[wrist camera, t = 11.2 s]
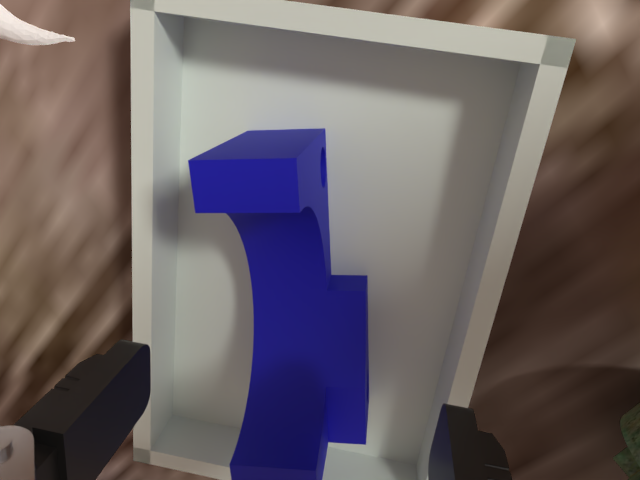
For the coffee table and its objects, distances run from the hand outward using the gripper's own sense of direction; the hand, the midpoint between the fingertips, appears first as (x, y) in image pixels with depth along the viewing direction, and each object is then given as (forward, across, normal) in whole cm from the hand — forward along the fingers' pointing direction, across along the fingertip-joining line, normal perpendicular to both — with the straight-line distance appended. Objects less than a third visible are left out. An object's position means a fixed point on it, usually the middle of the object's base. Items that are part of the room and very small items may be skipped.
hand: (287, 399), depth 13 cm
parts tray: (+8, +1, 0) cm, 9 cm away
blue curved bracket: (+8, +1, 0) cm, 8 cm away
